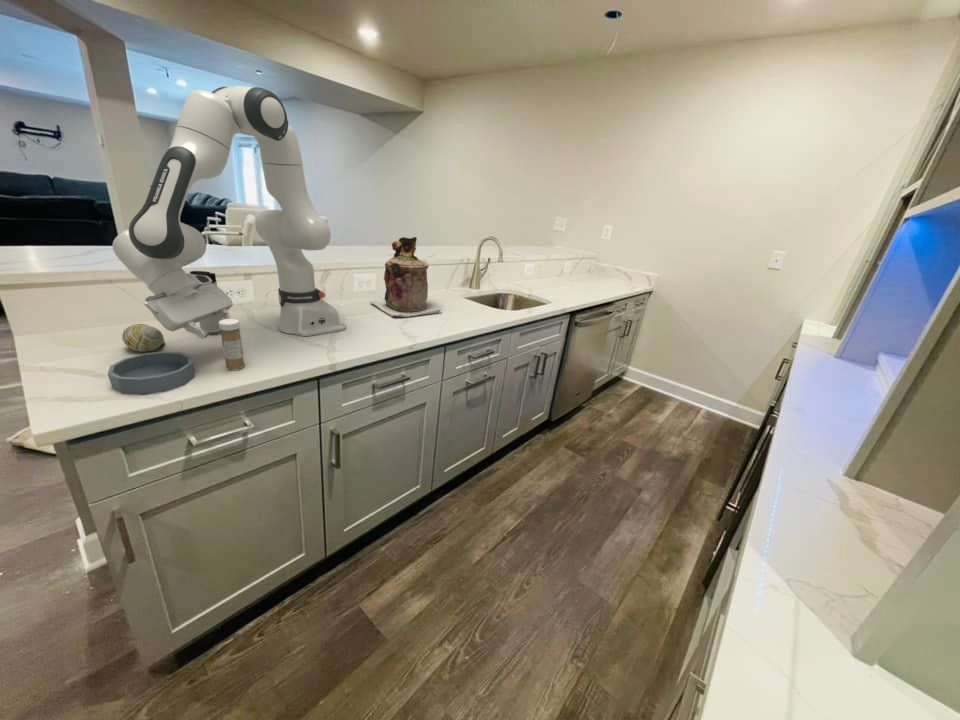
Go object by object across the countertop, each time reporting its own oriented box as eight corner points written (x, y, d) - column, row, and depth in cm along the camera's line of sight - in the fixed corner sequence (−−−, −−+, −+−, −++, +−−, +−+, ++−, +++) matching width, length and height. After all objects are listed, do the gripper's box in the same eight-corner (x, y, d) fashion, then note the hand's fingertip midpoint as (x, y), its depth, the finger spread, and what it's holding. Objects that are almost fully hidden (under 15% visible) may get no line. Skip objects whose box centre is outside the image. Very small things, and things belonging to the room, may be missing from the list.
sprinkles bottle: (231, 363, 107) (223, 317, 101) (248, 364, 107) (242, 318, 102) (222, 370, 103) (214, 322, 97) (240, 371, 103) (233, 324, 98)
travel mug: (195, 332, 123) (183, 270, 115) (214, 327, 128) (204, 267, 120) (210, 337, 121) (199, 274, 113) (229, 331, 127) (219, 271, 119)
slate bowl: (194, 362, 105) (191, 348, 103) (195, 387, 93) (192, 372, 92) (117, 371, 96) (113, 356, 95) (108, 399, 85) (103, 384, 83)
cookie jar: (415, 299, 189) (418, 232, 176) (443, 314, 172) (449, 240, 159) (367, 303, 173) (367, 230, 161) (394, 320, 157) (396, 239, 144)
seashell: (144, 335, 115) (152, 309, 111) (171, 354, 115) (180, 329, 111) (108, 345, 105) (115, 317, 102) (137, 366, 106) (146, 338, 102)
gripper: (146, 290, 87) (195, 337, 90) (212, 274, 106) (250, 313, 109) (132, 307, 89) (180, 351, 92) (200, 288, 108) (238, 326, 111)
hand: (219, 330), depth 101 cm, fingers open, 8 cm apart
